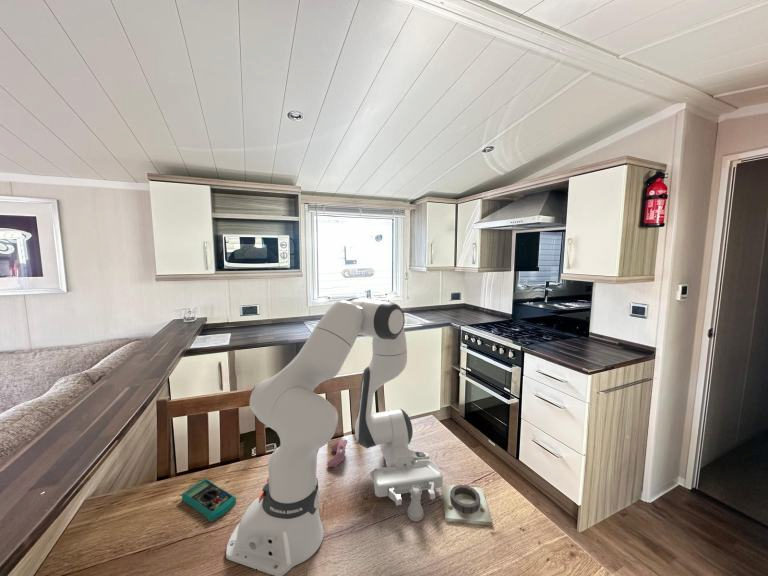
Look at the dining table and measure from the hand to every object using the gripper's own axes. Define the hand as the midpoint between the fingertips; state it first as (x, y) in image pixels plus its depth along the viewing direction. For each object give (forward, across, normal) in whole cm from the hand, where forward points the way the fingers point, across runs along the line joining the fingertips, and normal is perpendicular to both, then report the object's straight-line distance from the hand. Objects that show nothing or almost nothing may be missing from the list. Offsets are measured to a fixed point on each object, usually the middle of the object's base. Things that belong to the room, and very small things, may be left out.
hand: (416, 500), depth 83 cm
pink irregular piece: (-28, -19, +5) cm, 34 cm away
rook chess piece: (0, 0, +5) cm, 5 cm away
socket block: (-1, +15, +5) cm, 16 cm away
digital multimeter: (-17, -56, +6) cm, 58 cm away
